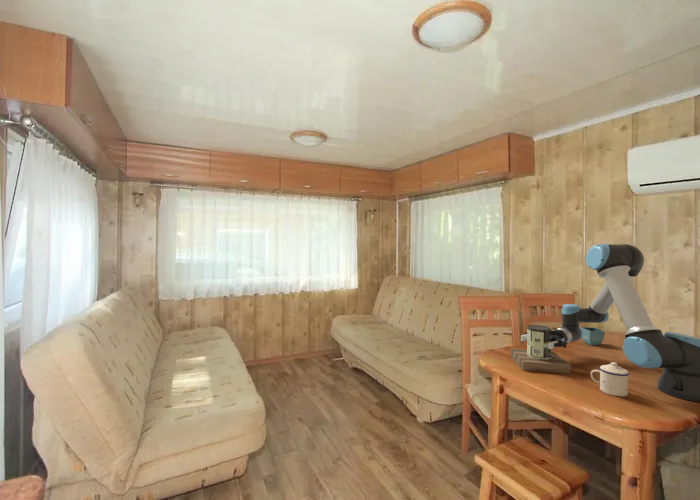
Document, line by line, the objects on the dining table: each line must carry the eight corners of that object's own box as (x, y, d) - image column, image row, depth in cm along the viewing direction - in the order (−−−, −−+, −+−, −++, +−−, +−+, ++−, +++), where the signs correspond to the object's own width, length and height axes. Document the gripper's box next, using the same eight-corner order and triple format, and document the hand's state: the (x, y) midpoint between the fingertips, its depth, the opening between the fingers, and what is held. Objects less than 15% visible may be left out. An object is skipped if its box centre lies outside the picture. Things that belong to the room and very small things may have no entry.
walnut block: (570, 373, 147) (570, 365, 147) (522, 370, 151) (522, 361, 151) (552, 358, 167) (552, 351, 167) (510, 355, 171) (510, 348, 171)
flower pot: (605, 346, 189) (605, 331, 189) (589, 346, 189) (590, 330, 189) (594, 342, 198) (594, 327, 198) (579, 341, 198) (579, 327, 198)
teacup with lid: (629, 392, 129) (630, 362, 129) (627, 399, 123) (628, 368, 123) (592, 383, 138) (592, 355, 138) (588, 389, 131) (589, 360, 131)
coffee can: (545, 353, 163) (546, 325, 163) (554, 360, 153) (555, 330, 153) (523, 352, 165) (524, 324, 165) (530, 358, 155) (531, 329, 155)
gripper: (586, 350, 157) (561, 357, 147) (535, 337, 179) (511, 342, 168) (586, 335, 157) (562, 340, 146) (536, 323, 178) (511, 328, 168)
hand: (534, 341), depth 157 cm, fingers open, 13 cm apart
